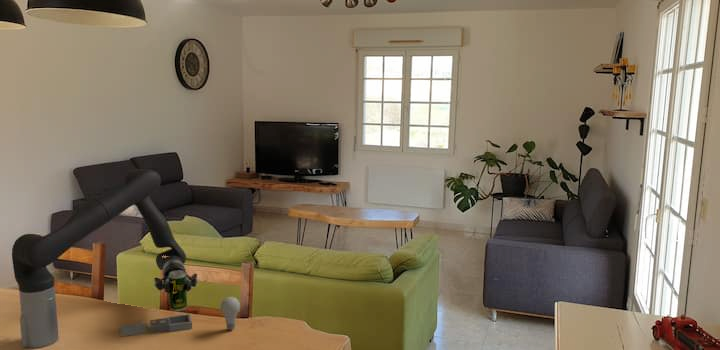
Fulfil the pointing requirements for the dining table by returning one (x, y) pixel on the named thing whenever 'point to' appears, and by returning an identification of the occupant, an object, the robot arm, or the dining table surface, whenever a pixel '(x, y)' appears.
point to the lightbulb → (230, 311)
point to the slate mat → (133, 329)
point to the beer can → (177, 290)
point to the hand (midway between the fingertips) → (178, 289)
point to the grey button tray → (166, 325)
